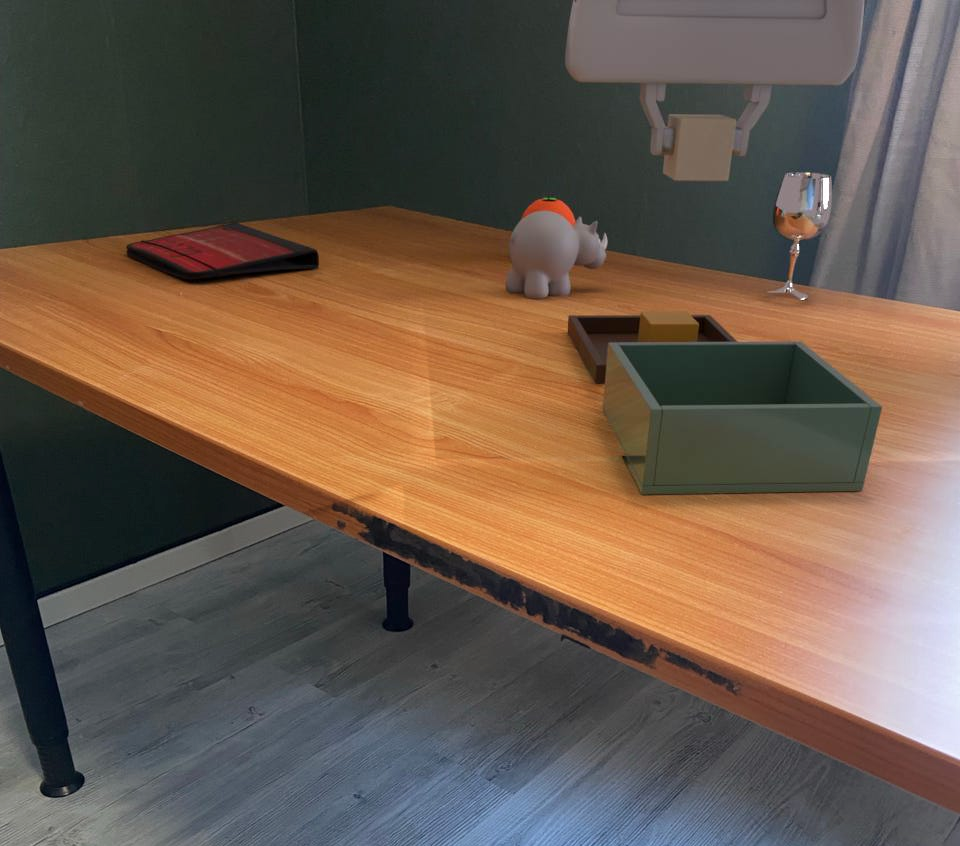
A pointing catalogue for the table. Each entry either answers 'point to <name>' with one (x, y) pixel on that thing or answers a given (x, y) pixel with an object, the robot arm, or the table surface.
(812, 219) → the wineglass
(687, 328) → the mustard block
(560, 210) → the clementine
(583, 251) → the chubby cartoon animal
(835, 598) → the table surface
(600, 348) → the shallow brown tray
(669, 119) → the cream block
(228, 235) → the binder
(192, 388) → the table surface
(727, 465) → the green storage bin
